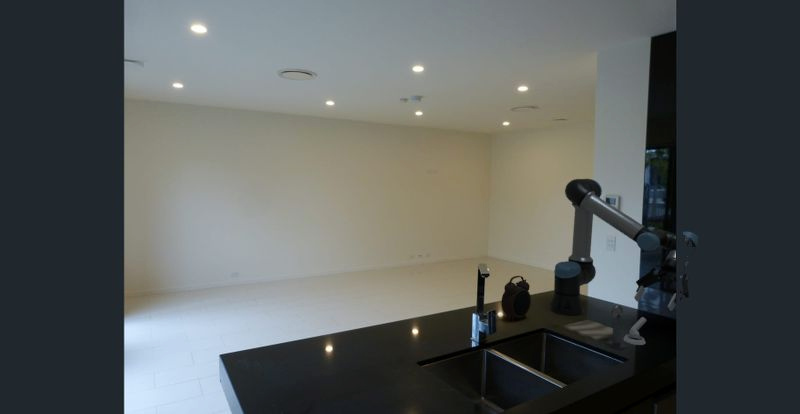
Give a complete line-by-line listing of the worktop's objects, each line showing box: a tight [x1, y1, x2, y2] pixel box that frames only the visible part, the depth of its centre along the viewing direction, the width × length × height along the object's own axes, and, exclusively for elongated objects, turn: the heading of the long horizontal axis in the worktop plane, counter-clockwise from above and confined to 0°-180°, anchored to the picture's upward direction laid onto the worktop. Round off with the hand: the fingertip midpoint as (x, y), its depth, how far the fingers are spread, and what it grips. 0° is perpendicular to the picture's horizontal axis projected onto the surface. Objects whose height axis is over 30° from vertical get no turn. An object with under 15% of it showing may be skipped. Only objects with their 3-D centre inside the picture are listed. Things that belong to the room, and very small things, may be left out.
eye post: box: [605, 304, 628, 350], centre depth 157 cm, size 6×5×16 cm
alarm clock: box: [501, 275, 532, 322], centre depth 188 cm, size 14×7×20 cm, turn 123°
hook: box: [623, 316, 647, 346], centre depth 161 cm, size 8×12×7 cm
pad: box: [562, 319, 623, 342], centre depth 173 cm, size 16×16×1 cm
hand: (652, 304), depth 165 cm, fingers open, 13 cm apart
